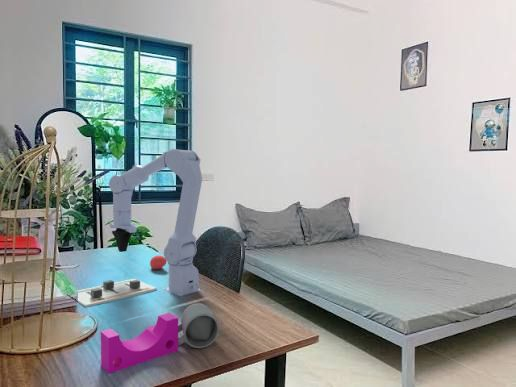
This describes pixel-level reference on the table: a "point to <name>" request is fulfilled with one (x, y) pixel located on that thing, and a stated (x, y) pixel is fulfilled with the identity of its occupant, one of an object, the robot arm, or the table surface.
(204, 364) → the table surface
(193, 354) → the table surface
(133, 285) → the tab
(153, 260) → the stress ball
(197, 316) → the ceramic mug
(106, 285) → the tab
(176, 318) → the toy block
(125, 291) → the switch panel
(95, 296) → the tab
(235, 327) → the table surface
